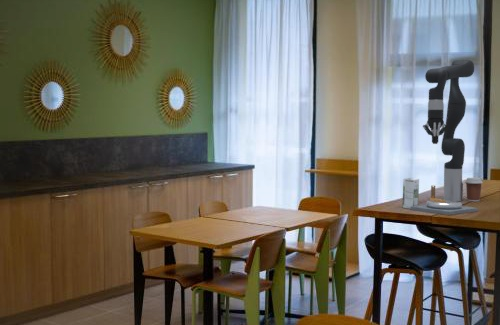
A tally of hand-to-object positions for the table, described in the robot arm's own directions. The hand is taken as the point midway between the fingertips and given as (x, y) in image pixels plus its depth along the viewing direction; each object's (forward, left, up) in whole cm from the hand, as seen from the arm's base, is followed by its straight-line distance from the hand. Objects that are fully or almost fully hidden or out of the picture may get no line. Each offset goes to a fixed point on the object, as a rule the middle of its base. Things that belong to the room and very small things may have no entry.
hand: (434, 143), depth 331 cm
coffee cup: (-34, 0, -31) cm, 46 cm away
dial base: (+12, +15, -31) cm, 36 cm away
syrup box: (+18, 0, -31) cm, 36 cm away
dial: (+11, +13, -29) cm, 34 cm away
